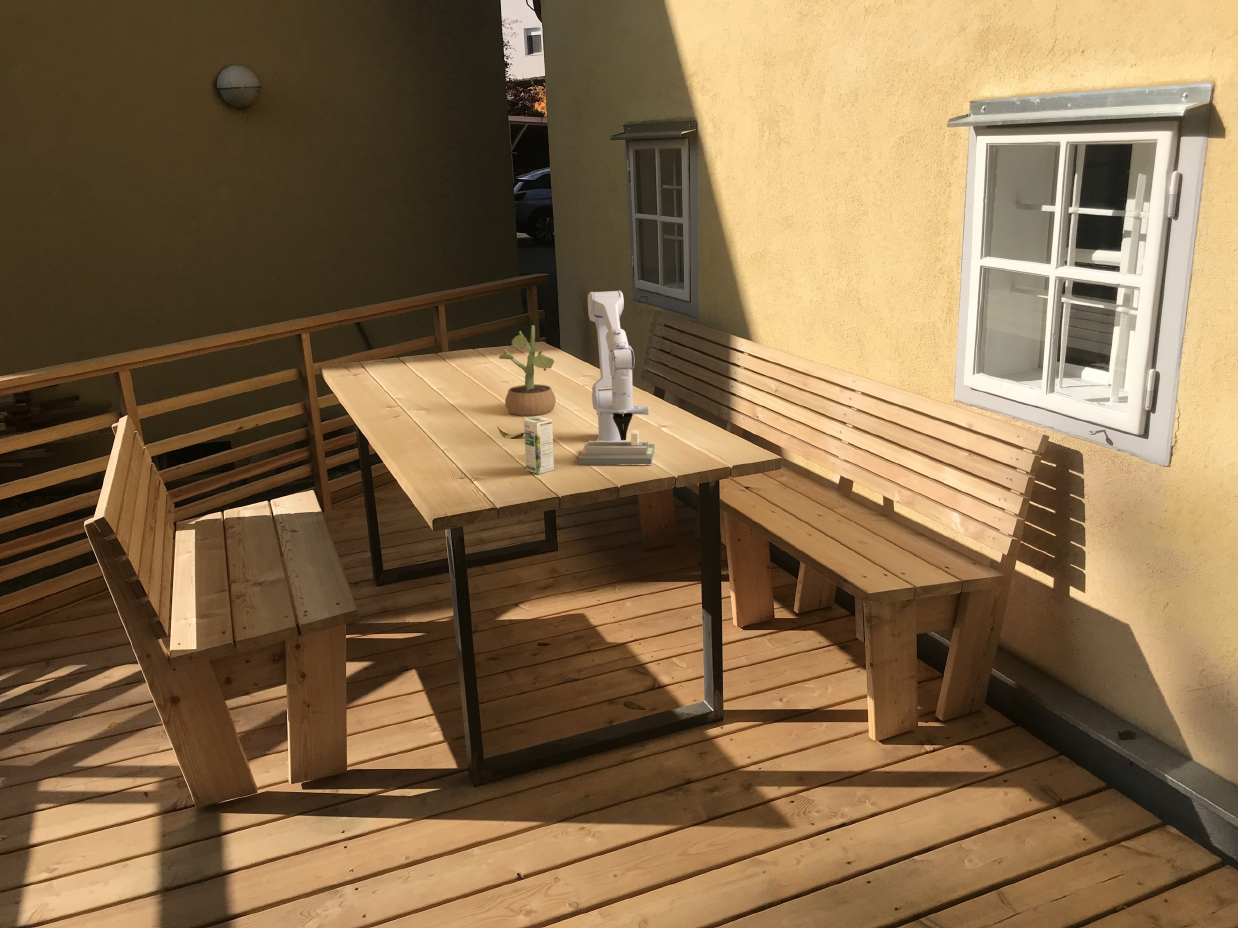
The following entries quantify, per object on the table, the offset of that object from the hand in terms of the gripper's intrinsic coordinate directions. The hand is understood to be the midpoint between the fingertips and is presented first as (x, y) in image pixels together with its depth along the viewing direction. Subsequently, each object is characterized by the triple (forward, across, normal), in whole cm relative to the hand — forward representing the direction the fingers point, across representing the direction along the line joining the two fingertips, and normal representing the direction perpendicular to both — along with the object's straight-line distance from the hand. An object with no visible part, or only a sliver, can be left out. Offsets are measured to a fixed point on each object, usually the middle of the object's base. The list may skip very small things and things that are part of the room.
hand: (623, 439), depth 276 cm
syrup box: (+6, -22, -12) cm, 26 cm away
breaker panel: (+5, -2, 0) cm, 6 cm away
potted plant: (+6, -36, +51) cm, 63 cm away
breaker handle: (+3, +3, 0) cm, 5 cm away
